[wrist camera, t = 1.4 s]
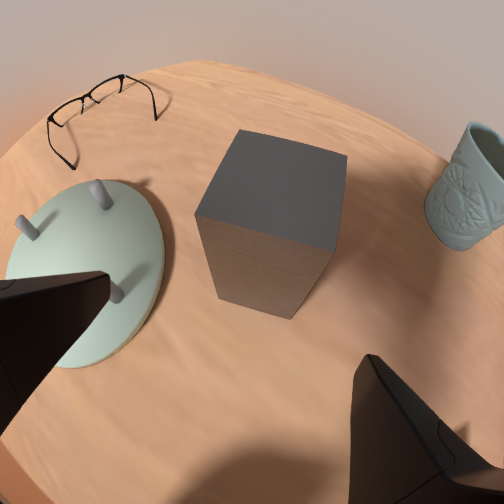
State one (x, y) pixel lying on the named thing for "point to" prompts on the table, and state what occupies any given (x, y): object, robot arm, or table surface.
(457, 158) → the embossed blue-grey cup
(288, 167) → the block
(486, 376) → the table surface
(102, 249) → the pin plate
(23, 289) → the robot arm
